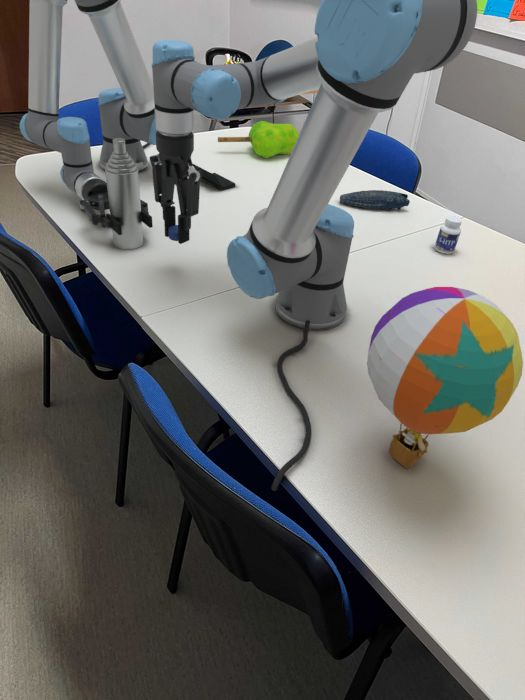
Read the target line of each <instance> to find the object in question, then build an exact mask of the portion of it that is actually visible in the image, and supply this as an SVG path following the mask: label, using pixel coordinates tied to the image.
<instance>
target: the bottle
mask: <svg viewBox="0 0 525 700" xmlns="http://www.w3.org/2000/svg"><path fill="white" fill-rule="evenodd" d="M113 146H114V152H112V155H111V156H110V159H109V160H108V162H107V163H106V167H105V170H104V172H105V180H106V181H105V182H106V183H107V190H108V198H109V207H110V209H109V214H110V215H111V216H112V217H114V218H115V219H116V220H117V221H118V222H119V223H121V229H122V235H118V234H117V233H116V232H115V231H114V230H113V229H112V228H111V233H112V240H113V245H114V246H115V247H116V248H118V249H121V250H135V249H138V248H141V247H142V246H143V245H144V231H143V222H142V216H141V203H140V199H141V192H140V179H139V172H138V168H137V166H136V163H135V162H134V161H133V159H131V156H130V155H128V152H126V148H125V139H123V138H115V139H113Z"/></svg>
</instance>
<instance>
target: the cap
mask: <svg viewBox="0 0 525 700" xmlns="http://www.w3.org/2000/svg"><path fill="white" fill-rule="evenodd" d="M168 235H169V237H168V239H169V240H171V241H174V242H178V224H176V225H173V226H170V227H169V230H168Z"/></svg>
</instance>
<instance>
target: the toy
mask: <svg viewBox="0 0 525 700" xmlns="http://www.w3.org/2000/svg"><path fill="white" fill-rule="evenodd" d="M514 325H515V324H514V323H513V322H512V321H511V319H510V318H509V317H508V316H507V314H506V313H504V311H503V310H502V309H501V308H500V307H499V305H498V304H496V303H495V302H493V301H492V300H490V299H489V298H487V297H486V296H483V295H481V294H479V293H477V292H474V291H472V290H469V289H465V288H461V287H460V288H459V287H455V286H433V287H429V288H425V289H421V290H418V291H414V292H412V293H409V294H407V295H406V296H404V297H401V299H400V300H398V301H397V302H396V303H395V304H394V305H393V306H392V307H391V308H389V309H388V310H387V311H386V312H385V313H384V314H382V316H381V317H380V318H379V320H378V321H377V323H376V324H375V326H374V329H373V331H372V334H371V335H370V343H369V346H368V353H367V361H366V367H367V373H368V377H369V379H370V381H371V384H372V386H373V389H374V391H375V393H376V396H377V398H378V401H380V403H381V404H382V405H383V406H384V407H385V408H386V410H388V412H389V413H391V415H392V416H393V417H394V418H395V419H397V421H398V422H399V423H400V427H399V431H398V434H397V433H396V434H395V433H394V434H393V435H392V439H391V441H390V444H389V450H388V454H389V456H390V457H391V458H393V459H394V460H395V461H396V462H398V464H400V465H401V466H403V467H404V468H406V469H410V468H411V467H412V466H413V465H415V464H416V463H417V462H419V461H420V460H421V459H422V458H423V456H425V454H427V453H428V448H429V442H428V441H427V438H428V437H429V435H444V434H445V435H447V434H457V433H459V434H460V433H465V432H467V431H468V432H469V431H470V430H472V429H475V428H477V427H479V426H480V425H483V424H485V423H488V422H489V421H492V420H493V419H495V418H496V417H497V416H498V415H499V414H501V413H502V412H503V410H504V409H505V407H506V406H507V405H508V403H509V402H510V401H511V398H512V397H513V395H514V393H515V391H516V390H517V388H518V386H519V383H520V382H521V378H522V375H523V367H524V360H523V354H522V348H521V344H520V343H521V342H520V339H519V333H518V331H517V329H516V328H515V326H514ZM402 425H403V426H404V427H405V429H403V430H402V427H403V426H402ZM422 434H423V435H426V436H425V438H423V436H422Z"/></svg>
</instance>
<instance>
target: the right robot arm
mask: <svg viewBox="0 0 525 700" xmlns="http://www.w3.org/2000/svg"><path fill="white" fill-rule="evenodd" d="M316 13H317V14H316V17H315V23H314V34H315V35H316V37H314V38H311V39H309V40H306V41H304V42H302V43H298V44H296V45H294V46H291V47H289V48H285V49H284V50H281V51H278V52H276V53H274V54H271V55H269V56H266V57H263V58H261V59H258V60H255V61H248V62H247V61H246V62H237V63H226V64H213V65H210V64H209V65H208V64H204V63H200V62H198V61H196V60H195V57H196V56H195V50H194V46H193V45H192V44H191V43H190V42H187V41H183V40H175V39H161V40H157V41H155V42H154V43H153V45H152V63H151V68H152V84H153V88H154V103H155V128H156V129H157V132H156V145H155V147H156V151H157V152H158V154H153V155H151V156H149V162H150V165H151V169H152V170H151V171H152V180H153V182H152V183H153V192H154V201H155V202H156V203H159V204H160V207H161V209H162V219H163V223H164V237H166V238H169V235H168V230H169V227H170V226H173V225H178V241H177V243H178V244H180V245H182V244H184V243H186V242H189V241H190V230H191V229H192V217H194V216H196V215H198V214H199V212H200V211H199V210H200V194H201V193H200V190H201V181H202V179H201V178H202V175H203V173H202V171H196V170H195V168H194V167H193V164H194V163H193V161H192V155H193V153H194V150H195V148H194V147H195V137H194V136H195V134H194V132H193V131H194V127H195V125H194V124H195V123H194V122H195V121H194V120H195V118H194V117H195V115H194V112H198V113H199V114H201V115H203V116H206V117H207V118H212V119H215V120H227V119H228V118H230V117H231V116H232V115H233V114H235V113H236V111H237V110H242V109H246V108H254V107H262V106H272V105H277V104H280V103H283V102H285V101H286V100H287V99H289V98H293V97H297V96H300V95H303V94H307V93H310V92H313V91H317V92H316V94H315V97H314V99H313V102H312V104H311V107H310V109H309V111H308V113H307V116H306V118H305V120H304V121H303V122H304V123H303V125H302V127H301V130H300V132H299V136H298V139H297V141H296V143H295V146H294V148H293V150H292V152H291V153H290V155H289V158H288V159H287V162H286V164H285V167H284V169H283V171H282V173H281V176H280V178H279V180H278V183H277V185H276V188H275V190H274V192H273V195H272V197H271V199H270V202H269V204H268V206H267V207H265V208H262V209H260V210H259V211H257V213H255V215H254V216H253V218H252V221H251V223H250V225H249V228H248V230H247V231H246V233H245V234H244V235H238V236H236V237H235V238H233V239H232V240H231V241H230V242H229V243H228V246H227V249H226V260H227V265H228V268H229V271H230V274H231V277H232V278H233V281H234V282H235V284H236V285H237V287H238V288H239V289H240V290H241V291H242V292H243V293H244V294H246V296H248V297H250V298H252V299H257V300H261V299H265V298H267V297H273V296H275V295H276V294H277V296H276V300H275V311H276V313H277V315H278V316H279V317H280V318H281V319H282V320H283V321H284V322H286V323H287V324H289V325H291V326H293V327H296V328H300V329H303V334H302V340H301V341H300V343H298V344H297V345H296V346H294V347H292V348H290V349H288V350H285V351H284V352H283V353H282V354H281V355H280V356H279V357H278V360H277V362H276V363H277V364H276V369H277V375H278V377H279V380H280V382H281V383H282V386H283V388H284V390H285V392H286V394H287V395H288V396H289V398H290V399H291V400H292V401H293V402H294V403H295V405H296V406H297V408H298V410H299V411H300V413H301V416H302V419H303V423H304V429H305V434H304V439H303V443H302V446H301V448H300V450H299V451H298V452H297V453H296V454H295V455H294V456H292V458H290V459H289V460H288V461H287V462H286V463H284V464H283V466H281V467H280V469H279V470H278V472H277V474H276V475H275V477H274V479H273V481H272V483H271V487H270V488H271V489H270V490H271V491H273V492H276V491H278V489H279V486H280V484H281V481H282V479H283V478H284V476H285V474H286V473H287V472H288V471H289V470H290V469H291V468H292V467H293V466H295V464H297V463H298V462H299V461H300V460H301V459H303V458H304V456H305V455H306V453H307V451H308V449H309V447H310V442H311V439H312V425H311V420H310V416H309V414H308V411H307V409H306V407H305V405H304V404H303V403H302V401H301V399H299V397H298V396H297V395H296V394H295V392H294V391H293V390H292V388H291V386H290V385H289V382H288V380H287V378H286V376H285V372H284V369H283V364H284V360H285V359H286V358H287V357H289V356H291V355H293V354H294V353H297V352H298V351H300V350H301V349H303V348H304V347H305V346H306V344H307V343H308V340H309V331H324V330H325V331H326V330H329V329H333V328H336V327H337V326H339V325H340V324H342V323H343V322H344V320H345V318H346V315H347V310H348V307H347V306H348V305H347V297H346V292H345V286H344V280H345V275H346V271H347V267H348V261H349V257H350V251H351V246H352V241H353V238H354V231H355V229H354V228H355V220H354V218H353V215H351V214H350V213H349V212H348V211H346V210H345V209H343V208H340V207H338V206H335V205H333V204H329V203H330V201H331V200H332V198H333V196H334V194H335V192H336V190H337V188H339V187H338V186H339V185H340V183H341V181H342V179H343V178H344V176H345V174H346V172H347V170H348V168H349V166H350V165H351V164H352V161H353V160H354V158H355V156H356V154H357V152H358V150H359V149H360V147H361V145H362V143H363V142H364V140H365V137H366V136H367V134H368V132H369V130H370V129H371V127H372V125H373V124H374V121H375V120H376V118H377V116H378V114H379V113H382V112H387V111H390V110H392V109H394V107H396V106H397V103H398V102H399V99H401V97H402V95H403V93H404V91H405V90H406V88H407V86H408V84H409V82H410V81H411V80H412V78H413V76H414V75H415V74H420V73H426V72H430V71H435V70H438V69H440V68H443V67H445V66H446V65H448V64H450V63H451V62H453V61H454V60H455V59H456V58H457V57H458V56H459V55H460V54H461V53H462V52H463V51H464V50H465V48H466V47H467V45H468V43H469V41H470V40H471V38H472V37H473V34H474V31H475V28H476V23H477V17H478V1H477V0H321V2H320V4H319V7H318V10H317V12H316ZM175 187H176V192H177V193H176V194H177V199H178V205H179V212H180V214H178V215H177V221H176V206H175V204H176V202H174V194H175Z"/></svg>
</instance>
